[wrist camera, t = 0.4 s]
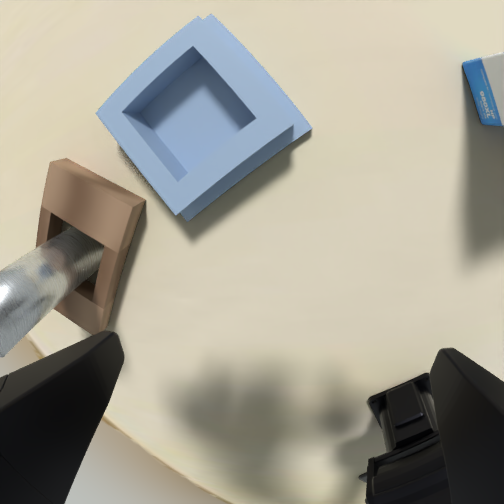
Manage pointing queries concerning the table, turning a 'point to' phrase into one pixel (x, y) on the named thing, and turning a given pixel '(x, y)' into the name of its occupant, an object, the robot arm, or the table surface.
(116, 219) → the holder
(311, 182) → the table surface
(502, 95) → the ink box
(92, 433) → the robot arm
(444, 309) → the table surface
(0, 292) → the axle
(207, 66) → the tray
